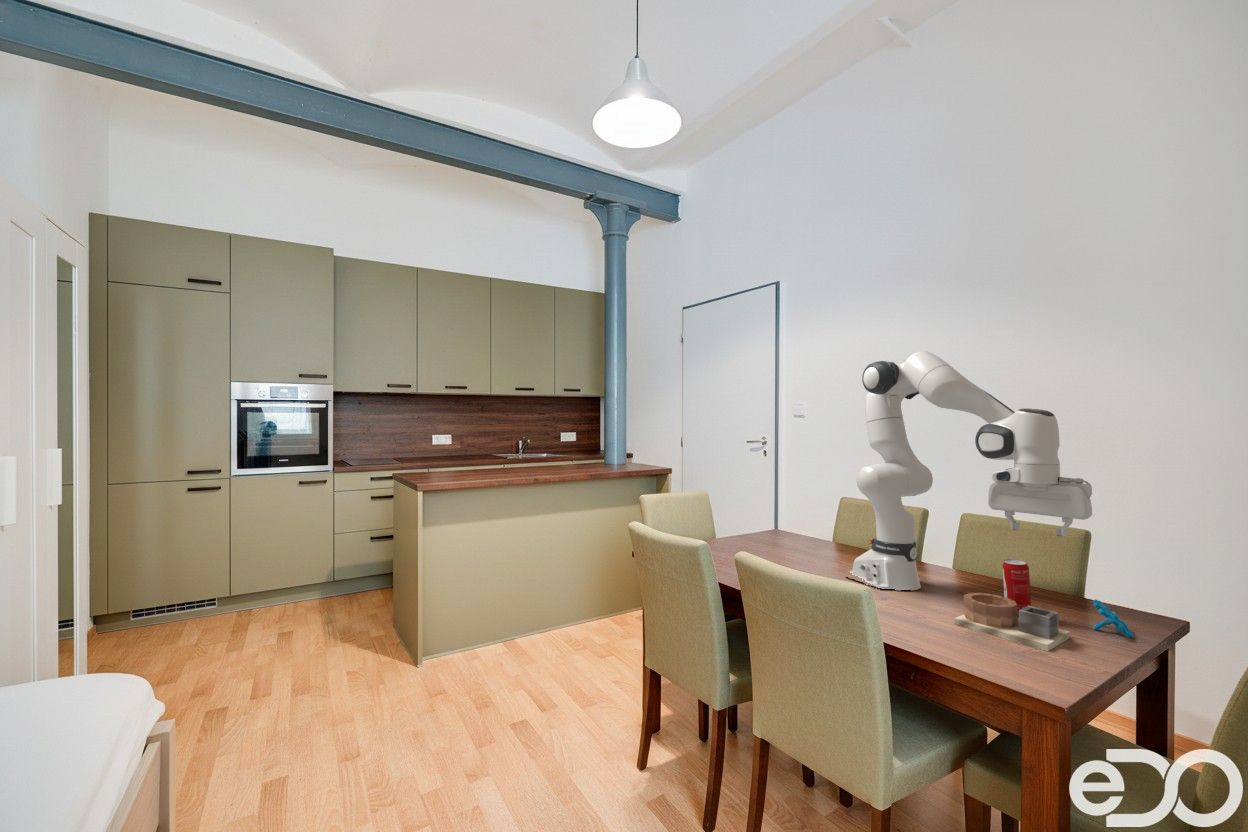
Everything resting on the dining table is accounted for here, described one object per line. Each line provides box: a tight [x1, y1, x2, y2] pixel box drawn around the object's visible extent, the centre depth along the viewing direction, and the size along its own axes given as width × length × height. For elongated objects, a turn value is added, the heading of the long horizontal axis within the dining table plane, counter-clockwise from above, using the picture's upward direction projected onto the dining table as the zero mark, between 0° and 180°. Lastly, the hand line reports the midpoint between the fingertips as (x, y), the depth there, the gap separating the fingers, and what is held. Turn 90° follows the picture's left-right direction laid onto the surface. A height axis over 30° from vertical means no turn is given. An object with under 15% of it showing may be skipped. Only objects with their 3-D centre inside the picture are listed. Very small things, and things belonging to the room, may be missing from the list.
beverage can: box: [1002, 558, 1032, 618], centre depth 145 cm, size 6×6×15 cm
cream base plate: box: [953, 592, 1071, 652], centre depth 135 cm, size 20×14×6 cm
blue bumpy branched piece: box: [1091, 599, 1135, 638], centre depth 135 cm, size 11×6×10 cm
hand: (1037, 532), depth 131 cm, fingers open, 8 cm apart
